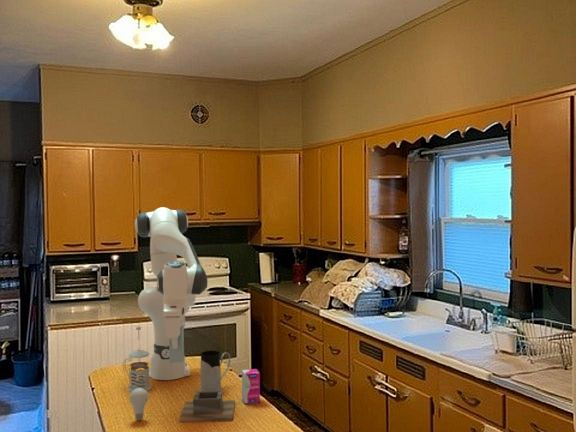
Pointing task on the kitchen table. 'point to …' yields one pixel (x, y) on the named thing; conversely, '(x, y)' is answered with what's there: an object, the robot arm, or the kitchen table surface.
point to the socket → (207, 408)
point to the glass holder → (211, 370)
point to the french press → (140, 382)
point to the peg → (178, 353)
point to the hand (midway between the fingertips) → (176, 346)
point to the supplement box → (250, 386)
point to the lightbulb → (138, 401)
